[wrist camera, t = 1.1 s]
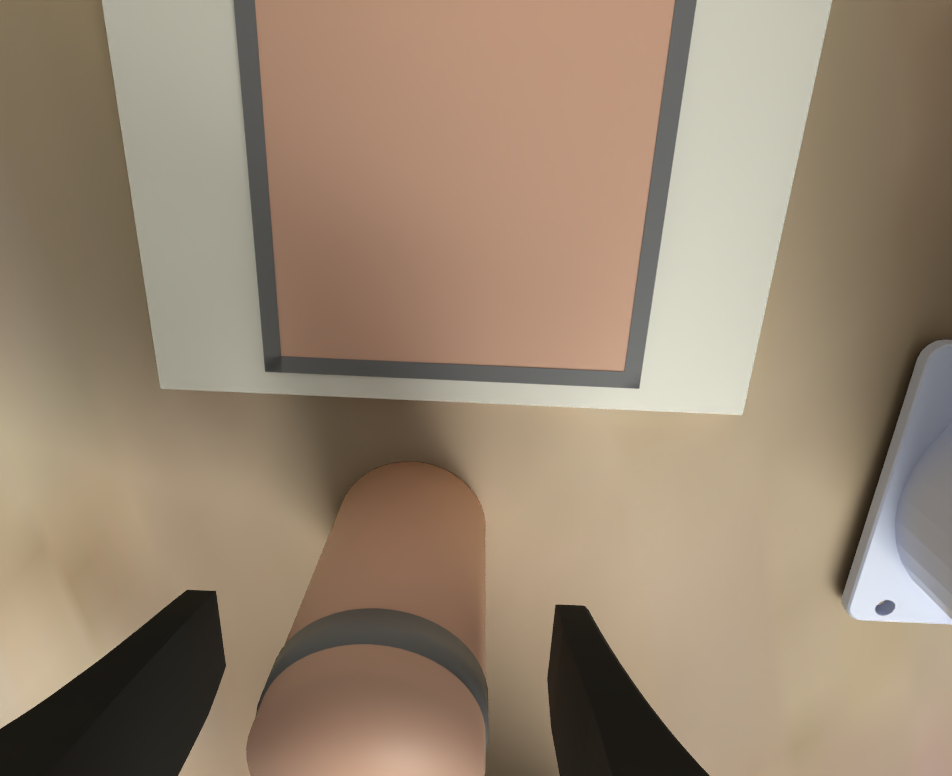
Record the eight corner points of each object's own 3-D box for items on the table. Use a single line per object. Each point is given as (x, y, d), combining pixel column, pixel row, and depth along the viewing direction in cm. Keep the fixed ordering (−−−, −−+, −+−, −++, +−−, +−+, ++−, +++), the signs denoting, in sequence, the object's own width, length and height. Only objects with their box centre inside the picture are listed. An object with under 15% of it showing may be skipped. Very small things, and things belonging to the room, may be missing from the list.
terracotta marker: (490, 463, 16) (495, 676, 10) (483, 591, 18) (482, 850, 11) (333, 456, 16) (231, 664, 10) (339, 584, 18) (253, 841, 11)
